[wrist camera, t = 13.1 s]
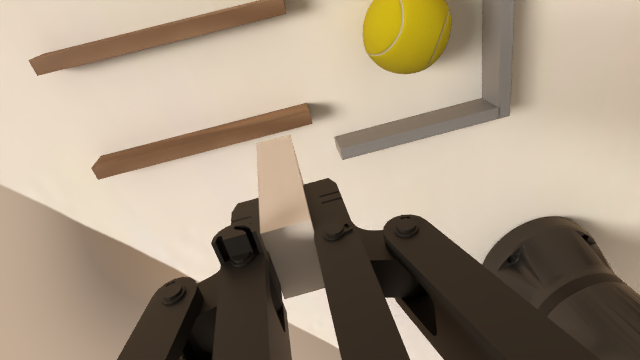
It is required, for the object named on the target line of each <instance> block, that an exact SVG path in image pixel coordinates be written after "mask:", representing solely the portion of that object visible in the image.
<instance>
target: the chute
mask: <svg viewBox="0 0 640 360" xmlns="http://www.w3.org/2000/svg"><path fill="white" fill-rule="evenodd" d="M282 14H286V10H285V5H284V1H283V0H259V1H255V2H251V3H247V4H243V5H239V6H235V7H231V8H227V9H223V10H219V11H215V12H211V13H207V14H202V15H198V16H194V17H190V18H186V19H182V20H178V21H174V22H170V23H166V24H162V25H158V26H154V27H150V28H146V29H142V30H138V31H134V32H130V33H126V34H122V35H118V36H114V37H110V38H106V39H102V40H98V41H94V42H90V43H86V44H82V45H78V46H73V47H69V48H65V49H61V50H57V51H53V52H49V53H45V54H42V55H40V56H37V57H35V58H33V59H30V60H29V62H30V64H31V66H32V67H33V69H34V71H35V72H36V74H37V76H38V75H42V74H46V73H50V72H54V71H58V70H62V69H66V68H70V67H74V66H78V65H82V64H86V63H90V62H94V61H98V60H102V59H106V58H110V57H114V56H118V55H122V54H126V53H130V52H134V51H138V50H142V49H146V48H150V47H154V46H158V45H162V44H166V43H170V42H174V41H178V40H182V39H186V38H190V37H194V36H198V35H202V34H206V33H210V32H214V31H218V30H222V29H226V28H230V27H234V26H238V25H242V24H246V23H250V22H254V21H258V20H262V19H266V18H270V17H274V16H278V15H282ZM309 124H312V120H311V116H310V111H309V109H308V107H307V104H306V103H304V104H301V105H297V106H293V107H289V108H285V109H281V110H277V111H273V112H270V113H266V114H262V115H258V116H254V117H250V118H246V119H243V120H239V121H235V122H231V123H227V124H223V125H219V126H216V127H212V128H208V129H204V130H200V131H196V132H192V133H188V134H185V135H181V136H177V137H173V138H169V139H165V140H161V141H158V142H154V143H150V144H146V145H142V146H138V147H134V148H130V149H127V150H123V151H119V152H115V153H111V154H107V155H103V156H100V158H99V159H98V160H97V162H96V163H95V164H94V165H93V167H92V170H93V172H94V173H95V175H96V177H97V179H102V178H106V177H110V176H114V175H117V174H121V173H125V172H129V171H133V170H137V169H140V168H144V167H148V166H152V165H156V164H160V163H163V162H167V161H171V160H175V159H179V158H183V157H186V156H190V155H194V154H198V153H202V152H206V151H209V150H213V149H217V148H221V147H225V146H229V145H232V144H236V143H240V142H244V141H248V140H252V139H255V138H259V137H263V136H267V135H271V134H275V133H278V132H282V131H286V130H290V129H294V128H298V127H301V126H305V125H309Z"/></svg>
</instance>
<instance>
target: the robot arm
mask: <svg viewBox="0 0 640 360" xmlns="http://www.w3.org/2000/svg"><path fill="white" fill-rule="evenodd" d="M257 168H258V192H259V198H256V199H253V200H249V201H245V202H242V203H238V204H237V205H236V207H235V209H234V210H233V212H232V217H231V222H232V223H231V225H230V226H228V227H226V228H224V229H222V230H221V231H219V232H218V233H217V234H216V235H215V236H214V238H213V240H212V242H211V244H212V246H213V249H214V251H215V253H216V255H217V257H218V259H219V262H220V264H221V268H220V270H219V271H218V272H217V273H216V274H214V275H213V276H211V277H209V278H207V279H205V280H203V281H201V282H200V283H198V284H197V283H196V281H195V280H194V279H192V278H190V277H181V278H177V279H174V280H172V281H170V282H168V283H166V284H164V285H163V286H162V287H161V288H159V289H158V290H157V292H156V293H155V294H154V296H153V297H152V299H151V300H150V302H149V304H148V306H147V307H146V309H145V311H144V313H143V315H142V316H141V318H140V320H139V322H138V324H137V325H136V327H135V329H134V331H133V332H132V334H131V336H130V338H129V339H128V341H127V343H126V345H125V346H124V348H123V350H122V352H121V354H120V355H119V357H118V359H117V360H292V357H291V348H290V339H289V330H288V321H287V312H286V309H285V307H284V304H283V301H282V293H283V296H284V299H287V298H290V297H294V296H297V295H301V294H305V293H308V292H312V291H315V290H319V289H322V288H325V289H326V294H327V298H328V302H329V307H330V311H331V315H332V320H333V324H334V328H335V332H336V337H337V341H338V345H339V350H340V354H341V358H342V360H410V358H409V356H408V353H407V351H406V348H405V346H404V344H403V341H402V339H401V336H400V334H399V331H398V329H397V326H396V324H395V321H394V319H393V316H392V314H391V311H390V309H389V307H388V304H387V302H386V299H385V298H395V300H396V302H397V303H398V304H399V305H400V307H401V308H402V309H403V310H404V312H405V313H406V314H407V315H408V316H409V318H410V319H411V320H412V321H413V322H414V324H415V325H416V326H417V327H418V329H419V330H420V331H421V332H422V333H423V335H424V336H425V337H426V338H427V340H428V341H429V342H430V343H431V344H432V346H433V347H434V348H435V349H436V350H437V352H438V353H439V354H440V355H441V357H442V358H443V359H444V360H640V295H639V294H638V293H636V292H635V291H634V290H633V289H632V288H630V287H629V286H628V285H627V284H625V283H624V282H623V281H622V280H621V279H620V278H618V277H617V276H616V275H615V274H614V272H613V270H612V269H611V267H610V265H609V264H608V262H607V261H606V259H605V257H604V256H603V254H602V252H601V251H600V249H599V247H598V246H597V244H596V242H595V241H594V239H593V238H592V237H591V236H590V234H589V233H588V232H586V231H585V230H584V229H583V228H581V227H580V226H579V225H577V224H576V223H575V222H573V221H571V220H569V219H566V218H561V217H546V218H540V219H536V220H533V221H530V222H528V223H525V224H523V225H521V226H519V227H517V228H516V229H514V230H512V231H511V232H509V233H508V234H507V235H505V236H504V237H503V238H502V239H501V240H500V241H499V242H497V244H496V245H495V246H494V247H493V248H492V249H491V251H490V252H489V253H488V255H487V257H486V258H485V260H484V262H483V265H482V264H480V263H479V262H478V261H477V260H475V259H474V258H473V257H472V256H470V255H469V254H468V253H467V252H465V251H464V250H463V249H462V248H460V247H459V246H458V245H457V244H455V243H454V242H453V241H452V240H450V239H449V238H448V237H447V236H445V235H444V234H443V233H442V232H440V231H439V230H438V229H437V228H435V227H434V226H433V225H432V224H430V223H429V222H428V221H427V220H425V219H423V218H421V217H420V216H415V215H401V216H397V217H394V218H392V219H391V220H389V221H388V222H387V223H386V224H385V226H384V229H383V230H375V231H374V230H364V229H361V228H358V227H357V226H355V225H354V224H353V222H352V221H351V219H350V217H349V214H348V212H347V209H346V207H345V204H344V202H343V199H342V197H341V194H340V192H339V189H338V187H337V184H336V183H335V182H333V181H332V180H330V179H329V178H327V179H323V180H319V181H316V182H312V183H308V184H304V183H303V180H302V176H301V172H300V169H299V165H298V162H297V158H296V154H295V151H294V147H293V144H292V140H291V136H290V135H286V136H283V137H279V138H275V139H271V140H268V141H264V142H260V143H257ZM281 291H282V293H281Z"/></svg>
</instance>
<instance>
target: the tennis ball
mask: <svg viewBox="0 0 640 360" xmlns="http://www.w3.org/2000/svg"><path fill="white" fill-rule="evenodd" d="M450 31H451V14H450V10H449V7H448V5H447V3H446V2H445V0H374V1H373V2H372V3H371V5H370V7H369V9H368V11H367V13H366V16H365V20H364V24H363V41H364V46H365V49H366V52H367V54H368V55H369V57H370V58H371V59H372V60H373V61H374V62H375V63H376V64H377V65H378V66H380V67H381V68H383V69H385V70H387V71H390V72H393V73H398V74H411V73H416V72H420V71H422V70H425V69H426V68H428V67H430V66H431V65H432V64H433V63H434V62H435V61H436V60H437V59H438V58H439V57H440V55H441V54H442V52H443V51H444V49H445V47H446V45H447V42H448V40H449V36H450Z"/></svg>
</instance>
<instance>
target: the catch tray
mask: <svg viewBox="0 0 640 360" xmlns="http://www.w3.org/2000/svg"><path fill="white" fill-rule="evenodd" d="M514 2H515V0H483V22H482V98H481V99H477V100H473V101H470V102H466V103H462V104H458V105H454V106H450V107H447V108H443V109H439V110H435V111H431V112H428V113H424V114H420V115H416V116H412V117H409V118H405V119H401V120H397V121H393V122H390V123H386V124H382V125H378V126H374V127H371V128H367V129H363V130H359V131H355V132H351V133H348V134H344V135H340V136H336V137H334V138H335V143H336V147H337V150H338V152H339V154H340V156H341V158H342V160H344V159H348V158H352V157H356V156H360V155H363V154H367V153H371V152H375V151H378V150H382V149H386V148H390V147H393V146H397V145H401V144H405V143H409V142H412V141H416V140H420V139H424V138H427V137H431V136H435V135H439V134H443V133H446V132H450V131H454V130H458V129H461V128H465V127H469V126H473V125H477V124H480V123H484V122H488V121H492V120H495V119H499V118H503V117H507V116H510V97H511V74H512V50H513V26H514Z"/></svg>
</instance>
